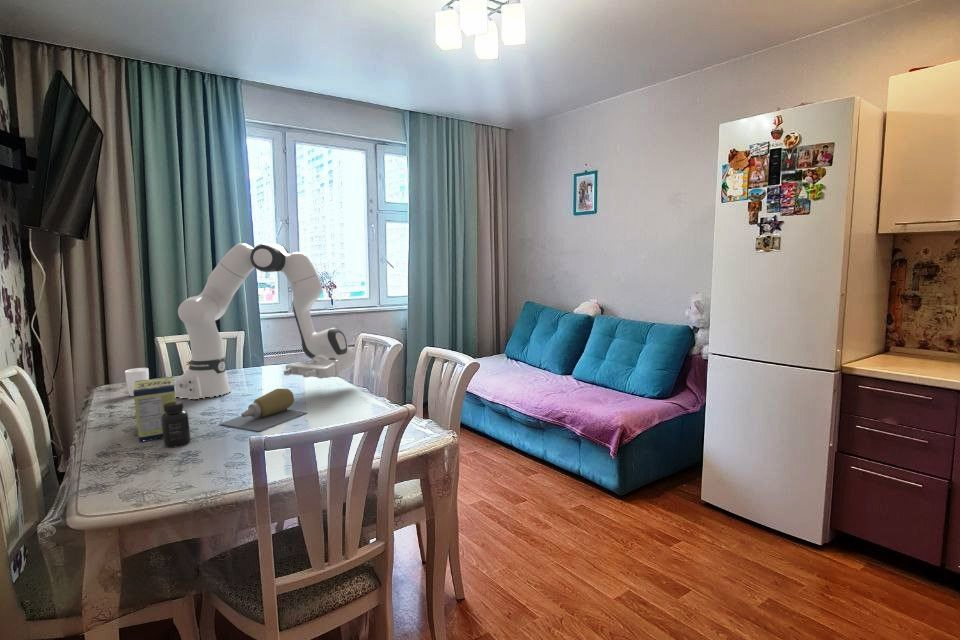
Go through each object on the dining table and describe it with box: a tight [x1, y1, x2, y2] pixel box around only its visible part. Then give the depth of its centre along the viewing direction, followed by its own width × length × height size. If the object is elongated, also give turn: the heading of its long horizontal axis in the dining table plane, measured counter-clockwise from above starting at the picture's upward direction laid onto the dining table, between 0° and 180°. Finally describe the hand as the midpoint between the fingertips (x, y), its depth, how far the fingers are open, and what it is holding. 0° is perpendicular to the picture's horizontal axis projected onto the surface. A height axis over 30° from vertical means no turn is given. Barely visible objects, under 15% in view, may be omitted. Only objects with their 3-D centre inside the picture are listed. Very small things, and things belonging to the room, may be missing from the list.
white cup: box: [124, 367, 150, 395], centre depth 208 cm, size 8×8×10 cm
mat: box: [218, 408, 308, 433], centre depth 173 cm, size 20×18×1 cm
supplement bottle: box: [161, 400, 192, 448], centre depth 151 cm, size 7×7×12 cm
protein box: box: [133, 376, 177, 442], centre depth 162 cm, size 10×16×16 cm
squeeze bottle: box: [241, 388, 295, 418], centre depth 175 cm, size 8×8×18 cm
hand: (294, 374), depth 189 cm, fingers open, 8 cm apart
